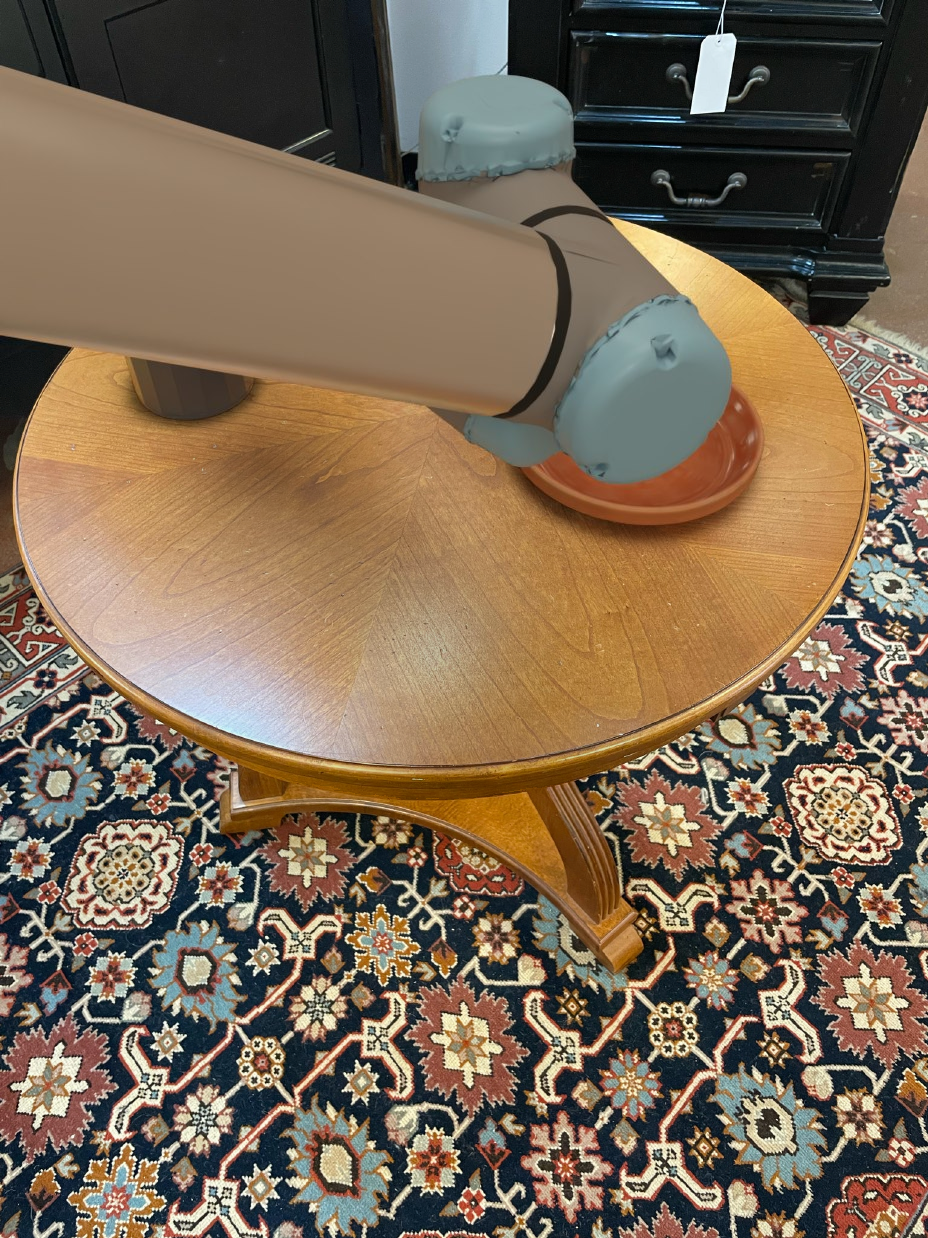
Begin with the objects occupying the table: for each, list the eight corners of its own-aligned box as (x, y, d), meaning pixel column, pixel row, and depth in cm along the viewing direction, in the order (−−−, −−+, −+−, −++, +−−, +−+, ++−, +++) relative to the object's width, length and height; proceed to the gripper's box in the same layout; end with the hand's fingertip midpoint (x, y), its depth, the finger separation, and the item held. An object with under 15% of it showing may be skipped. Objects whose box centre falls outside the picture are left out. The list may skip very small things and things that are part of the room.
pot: (137, 427, 91) (117, 365, 86) (138, 357, 98) (119, 296, 93) (258, 411, 92) (245, 349, 87) (250, 344, 100) (237, 282, 94)
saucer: (802, 446, 89) (813, 414, 86) (661, 580, 78) (669, 549, 75) (605, 349, 99) (609, 317, 96) (456, 457, 88) (456, 425, 85)
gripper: (294, 404, 61) (113, 259, 72) (476, 312, 67) (285, 192, 79) (276, 298, 55) (83, 158, 66) (477, 209, 62) (271, 95, 73)
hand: (193, 177), depth 72 cm, fingers closed on lid, 3 cm apart
